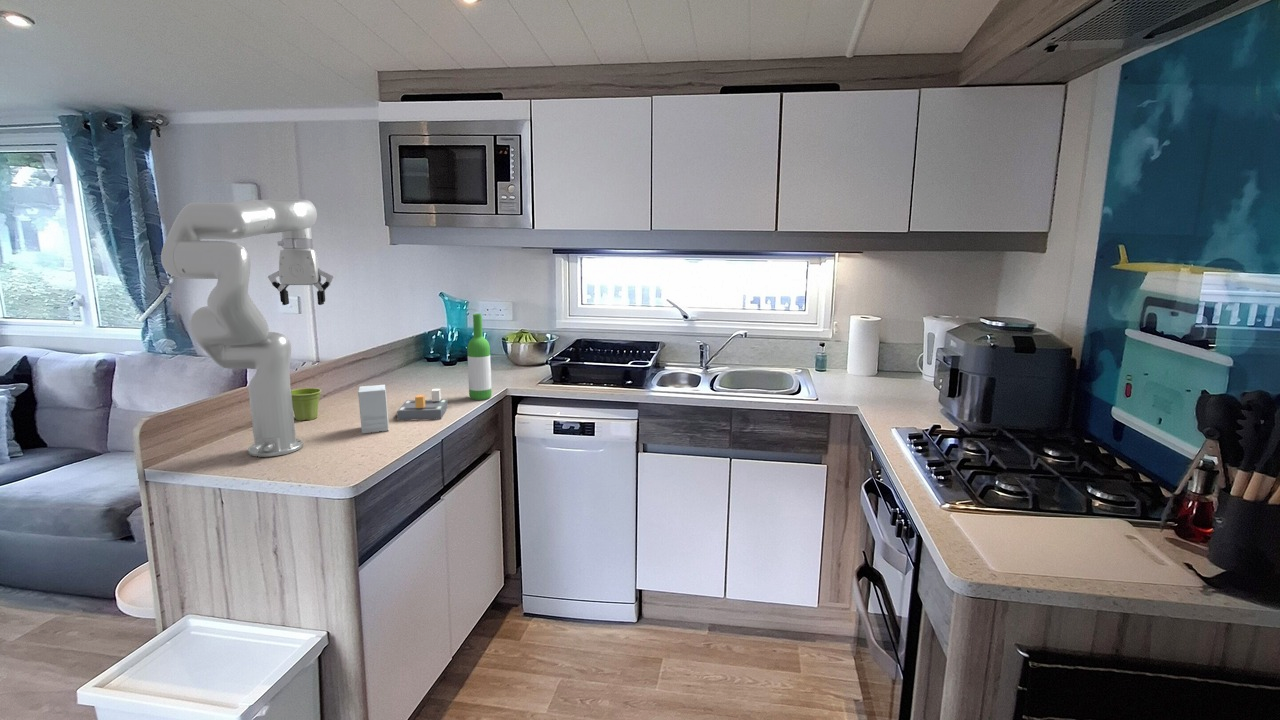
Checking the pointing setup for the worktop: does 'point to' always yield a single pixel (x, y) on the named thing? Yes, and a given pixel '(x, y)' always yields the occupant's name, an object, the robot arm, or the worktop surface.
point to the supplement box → (373, 408)
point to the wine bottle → (479, 363)
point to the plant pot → (305, 403)
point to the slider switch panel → (422, 410)
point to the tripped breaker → (420, 401)
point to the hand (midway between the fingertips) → (303, 304)
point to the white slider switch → (436, 394)
